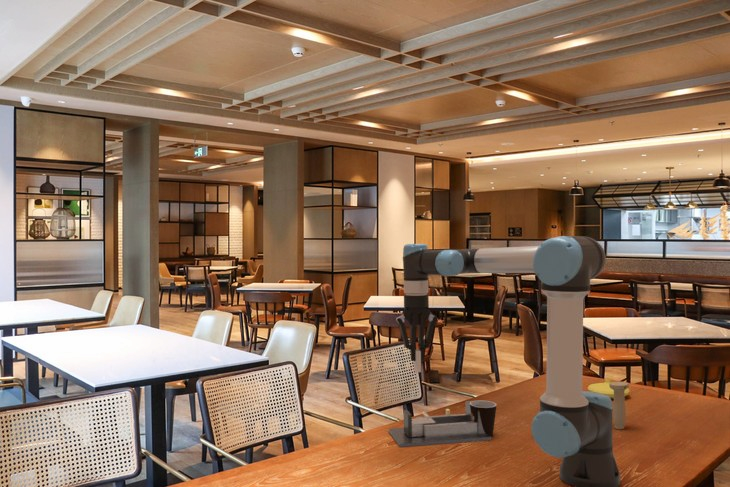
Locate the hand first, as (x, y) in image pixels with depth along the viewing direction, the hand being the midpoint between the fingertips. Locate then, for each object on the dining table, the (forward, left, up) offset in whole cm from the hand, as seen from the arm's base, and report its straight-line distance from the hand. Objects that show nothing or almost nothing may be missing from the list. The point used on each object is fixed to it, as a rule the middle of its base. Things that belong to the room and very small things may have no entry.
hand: (417, 371), depth 189 cm
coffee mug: (+11, -25, -24) cm, 36 cm away
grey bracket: (+14, -4, -23) cm, 27 cm away
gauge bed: (+12, -10, -24) cm, 29 cm away
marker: (+19, -16, -23) cm, 33 cm away
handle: (+5, -71, -24) cm, 75 cm away
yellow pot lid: (+44, -91, -25) cm, 104 cm away
